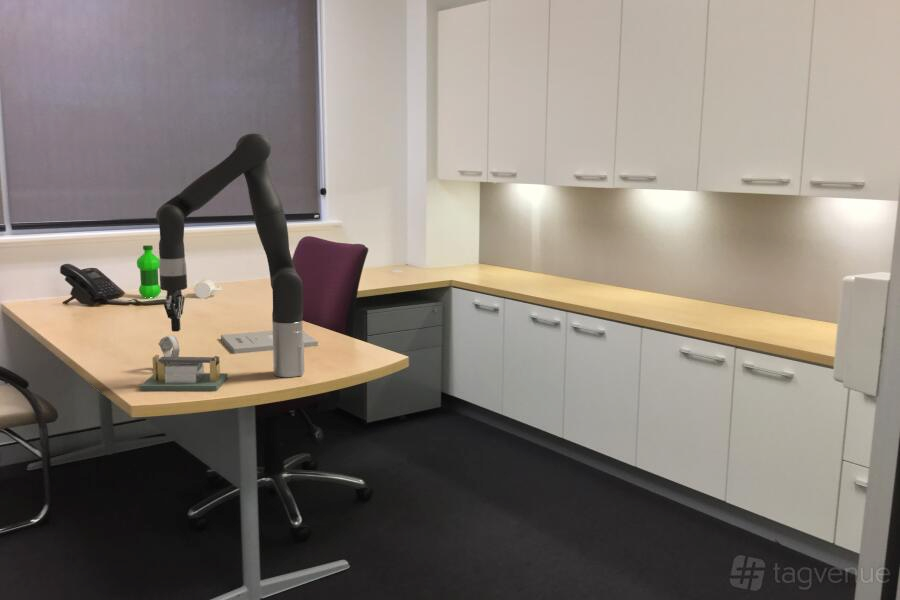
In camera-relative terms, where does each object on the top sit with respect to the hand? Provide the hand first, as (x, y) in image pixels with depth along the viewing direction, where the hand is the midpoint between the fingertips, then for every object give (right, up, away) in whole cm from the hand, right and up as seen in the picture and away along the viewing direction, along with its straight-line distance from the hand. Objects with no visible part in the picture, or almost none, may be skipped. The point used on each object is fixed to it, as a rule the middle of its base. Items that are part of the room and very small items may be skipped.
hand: (176, 330), depth 239 cm
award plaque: (+14, -7, +59) cm, 61 cm away
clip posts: (+2, -15, +3) cm, 15 cm away
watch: (-8, -13, +19) cm, 25 cm away
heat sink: (+2, -15, +3) cm, 15 cm away
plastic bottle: (-63, +10, +148) cm, 161 cm away
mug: (-36, +10, +153) cm, 158 cm away
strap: (+3, -9, +2) cm, 10 cm away
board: (+2, -16, +3) cm, 16 cm away
